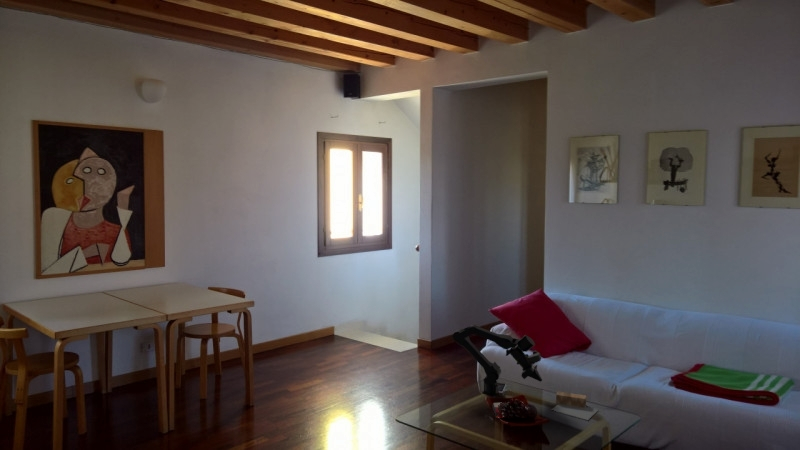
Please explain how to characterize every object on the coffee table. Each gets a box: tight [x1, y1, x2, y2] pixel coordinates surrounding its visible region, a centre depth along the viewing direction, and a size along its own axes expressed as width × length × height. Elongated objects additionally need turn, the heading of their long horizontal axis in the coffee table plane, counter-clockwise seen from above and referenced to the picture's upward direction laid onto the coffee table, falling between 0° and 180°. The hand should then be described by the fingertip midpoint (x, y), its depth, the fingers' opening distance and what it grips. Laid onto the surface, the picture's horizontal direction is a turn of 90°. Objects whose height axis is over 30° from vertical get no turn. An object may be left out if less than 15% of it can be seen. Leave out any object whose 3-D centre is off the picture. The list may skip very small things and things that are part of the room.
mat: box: [551, 404, 599, 422], centre depth 288 cm, size 18×14×1 cm
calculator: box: [491, 401, 524, 417], centre depth 284 cm, size 11×4×15 cm
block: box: [555, 391, 587, 408], centre depth 294 cm, size 4×4×14 cm
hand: (541, 380), depth 299 cm, fingers closed
